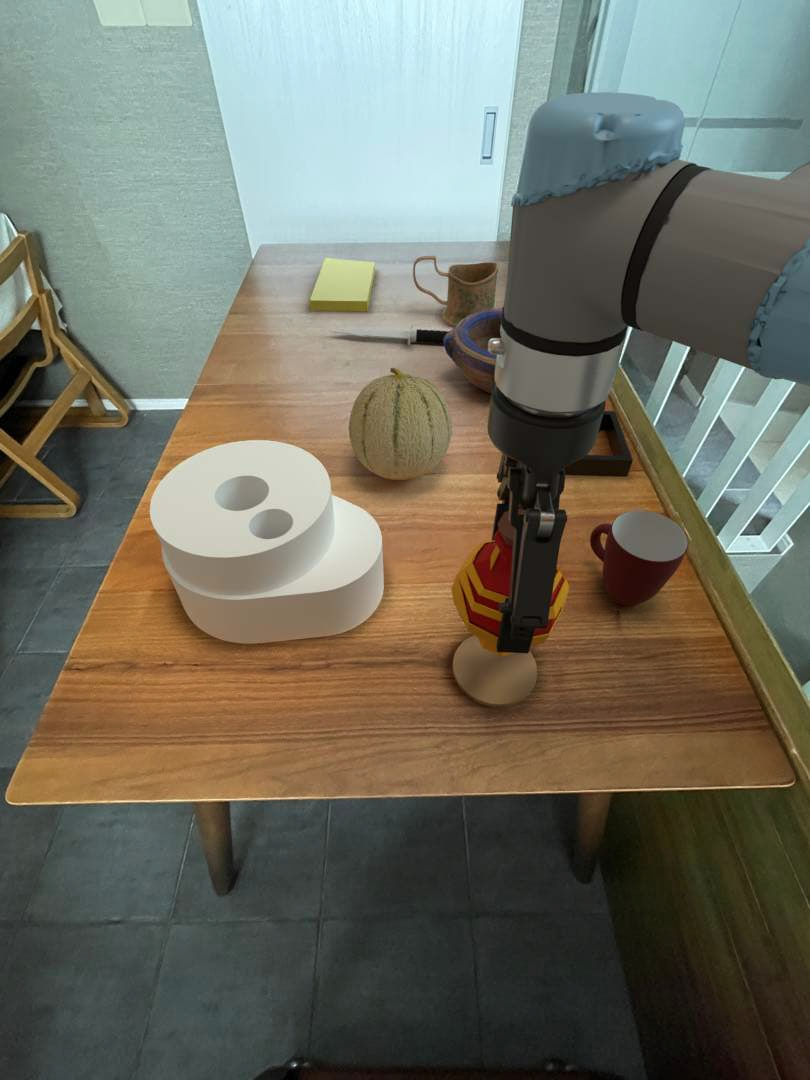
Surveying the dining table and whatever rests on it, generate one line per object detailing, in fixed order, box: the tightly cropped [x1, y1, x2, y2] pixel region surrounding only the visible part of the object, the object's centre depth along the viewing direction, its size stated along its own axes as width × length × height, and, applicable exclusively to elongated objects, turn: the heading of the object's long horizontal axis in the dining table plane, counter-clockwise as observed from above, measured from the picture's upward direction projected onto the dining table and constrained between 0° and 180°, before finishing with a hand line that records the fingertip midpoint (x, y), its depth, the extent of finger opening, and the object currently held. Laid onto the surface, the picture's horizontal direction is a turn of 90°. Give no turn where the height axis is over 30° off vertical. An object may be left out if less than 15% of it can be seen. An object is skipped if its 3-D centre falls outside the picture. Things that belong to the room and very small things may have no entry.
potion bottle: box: [451, 509, 570, 656], centre depth 53 cm, size 10×10×15 cm
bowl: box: [443, 307, 503, 394], centre depth 101 cm, size 18×18×10 cm
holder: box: [563, 410, 633, 477], centre depth 89 cm, size 13×13×3 cm
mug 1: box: [412, 255, 499, 328], centre depth 118 cm, size 12×18×12 cm, turn 88°
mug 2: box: [589, 509, 689, 607], centre depth 67 cm, size 11×8×10 cm
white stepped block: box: [149, 439, 385, 645], centre depth 67 cm, size 20×25×14 cm
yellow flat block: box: [309, 257, 376, 312], centre depth 132 cm, size 12×2×24 cm
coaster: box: [452, 634, 538, 708], centre depth 63 cm, size 9×9×1 cm
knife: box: [329, 324, 450, 347], centre depth 114 cm, size 26×2×5 cm
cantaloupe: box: [348, 367, 453, 481], centre depth 82 cm, size 15×15×15 cm
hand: (507, 598), depth 54 cm, fingers closed on potion bottle, 10 cm apart
